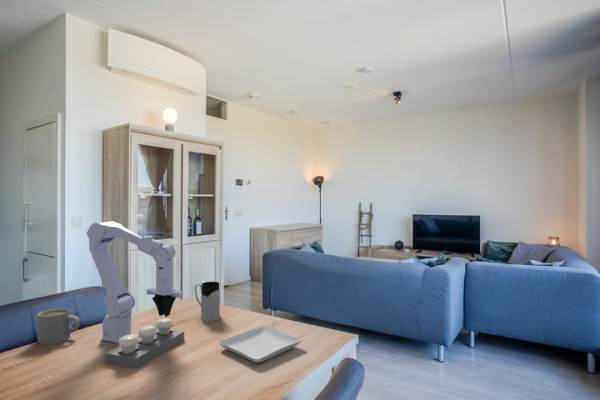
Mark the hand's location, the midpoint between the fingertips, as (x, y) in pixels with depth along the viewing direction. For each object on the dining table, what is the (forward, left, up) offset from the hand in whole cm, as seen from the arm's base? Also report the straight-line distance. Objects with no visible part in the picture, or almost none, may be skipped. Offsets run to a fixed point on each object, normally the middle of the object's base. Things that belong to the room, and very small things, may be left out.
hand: (164, 315), depth 133 cm
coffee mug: (-38, -11, -10) cm, 41 cm away
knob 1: (0, -17, -7) cm, 18 cm away
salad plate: (+36, +6, -10) cm, 38 cm away
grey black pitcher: (-1, +29, -10) cm, 30 cm away
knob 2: (0, -8, -7) cm, 11 cm away
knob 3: (0, 0, -7) cm, 7 cm away
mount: (0, -8, -9) cm, 13 cm away
